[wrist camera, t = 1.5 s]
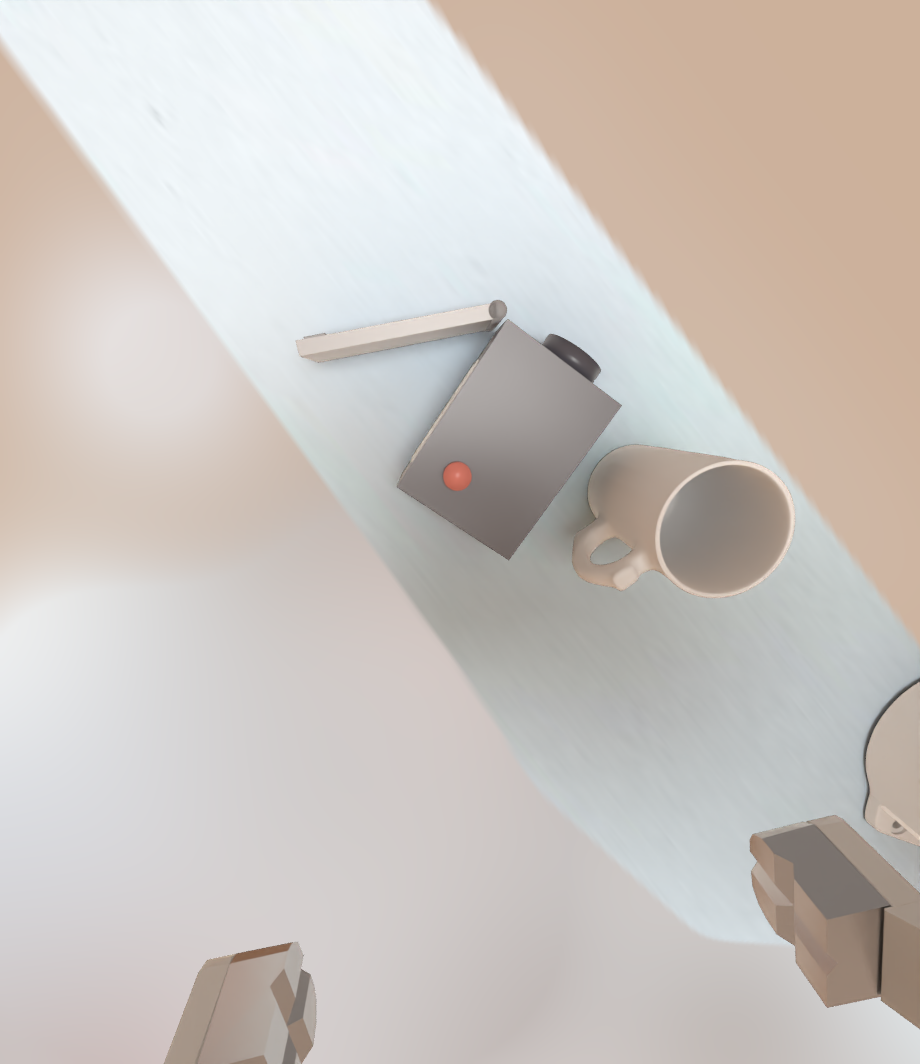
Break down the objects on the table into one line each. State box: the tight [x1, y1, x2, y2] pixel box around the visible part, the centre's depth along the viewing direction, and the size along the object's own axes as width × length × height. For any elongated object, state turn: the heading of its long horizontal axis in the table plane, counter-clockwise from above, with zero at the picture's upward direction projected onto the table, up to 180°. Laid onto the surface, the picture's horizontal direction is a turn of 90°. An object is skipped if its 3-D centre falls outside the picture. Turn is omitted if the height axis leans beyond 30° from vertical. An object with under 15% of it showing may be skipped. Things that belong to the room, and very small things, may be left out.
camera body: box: [397, 319, 622, 560], centre depth 32 cm, size 8×12×6 cm, turn 146°
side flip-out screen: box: [296, 300, 507, 362], centre depth 30 cm, size 1×12×5 cm, turn 101°
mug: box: [572, 445, 795, 598], centre depth 30 cm, size 10×7×12 cm, turn 123°
